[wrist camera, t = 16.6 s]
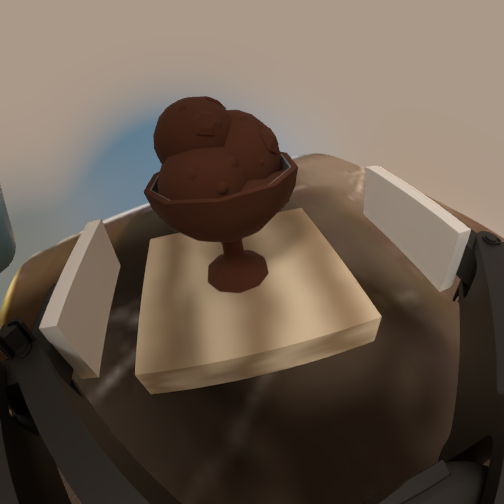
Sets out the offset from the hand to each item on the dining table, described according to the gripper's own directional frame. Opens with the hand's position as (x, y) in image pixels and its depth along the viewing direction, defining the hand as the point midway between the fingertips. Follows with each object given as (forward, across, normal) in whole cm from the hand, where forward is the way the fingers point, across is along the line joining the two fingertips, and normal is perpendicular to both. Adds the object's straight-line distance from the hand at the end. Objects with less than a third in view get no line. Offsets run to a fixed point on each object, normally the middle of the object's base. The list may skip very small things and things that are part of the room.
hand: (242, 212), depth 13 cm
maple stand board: (+8, 0, -13) cm, 15 cm away
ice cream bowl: (+8, 0, -10) cm, 13 cm away
